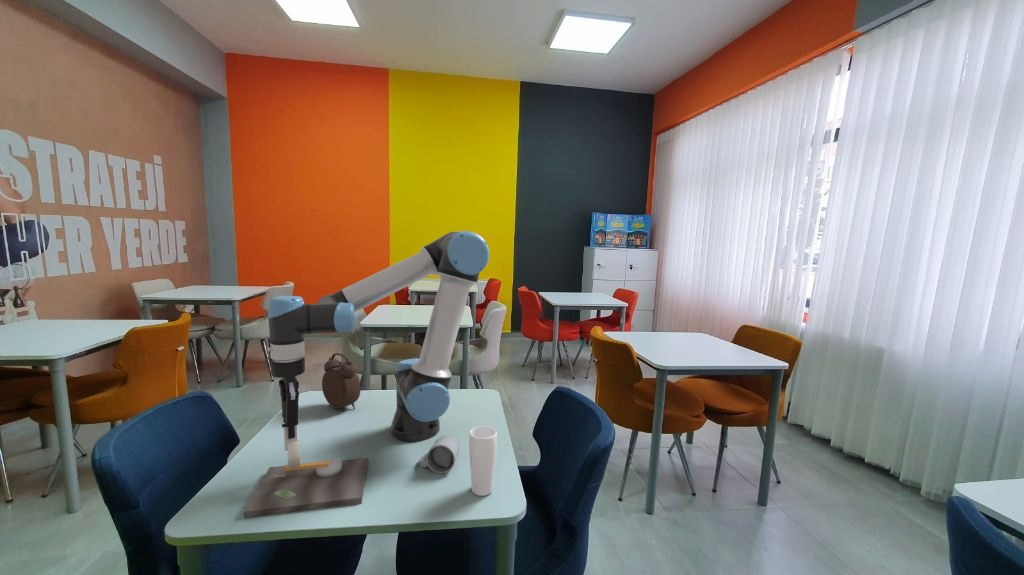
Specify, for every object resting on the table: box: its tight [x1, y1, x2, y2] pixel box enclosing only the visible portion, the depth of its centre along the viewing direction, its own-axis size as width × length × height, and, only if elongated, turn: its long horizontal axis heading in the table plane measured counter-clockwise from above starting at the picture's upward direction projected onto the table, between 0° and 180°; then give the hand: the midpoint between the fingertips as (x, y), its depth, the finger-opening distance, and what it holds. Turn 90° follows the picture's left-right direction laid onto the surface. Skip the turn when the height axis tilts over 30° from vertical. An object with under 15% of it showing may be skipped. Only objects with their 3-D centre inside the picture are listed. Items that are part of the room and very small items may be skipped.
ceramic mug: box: [418, 434, 460, 474], centre depth 112 cm, size 11×8×8 cm
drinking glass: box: [468, 425, 498, 497], centre depth 101 cm, size 7×7×15 cm
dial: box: [285, 439, 342, 477], centre depth 104 cm, size 13×6×8 cm, turn 104°
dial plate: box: [243, 456, 369, 519], centre depth 101 cm, size 24×18×2 cm
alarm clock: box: [321, 352, 362, 412], centre depth 147 cm, size 14×7×20 cm, turn 59°
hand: (291, 448), depth 106 cm, fingers closed
